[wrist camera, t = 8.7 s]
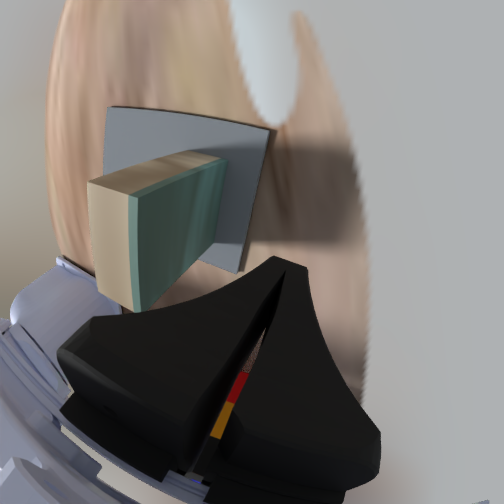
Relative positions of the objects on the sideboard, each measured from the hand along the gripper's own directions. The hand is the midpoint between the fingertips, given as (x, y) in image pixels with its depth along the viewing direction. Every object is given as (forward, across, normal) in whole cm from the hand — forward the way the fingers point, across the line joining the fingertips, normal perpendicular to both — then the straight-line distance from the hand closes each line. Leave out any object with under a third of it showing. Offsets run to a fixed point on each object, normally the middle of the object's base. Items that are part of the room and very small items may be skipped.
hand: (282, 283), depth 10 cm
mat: (+5, +8, 0) cm, 10 cm away
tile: (+5, +6, 0) cm, 8 cm away
